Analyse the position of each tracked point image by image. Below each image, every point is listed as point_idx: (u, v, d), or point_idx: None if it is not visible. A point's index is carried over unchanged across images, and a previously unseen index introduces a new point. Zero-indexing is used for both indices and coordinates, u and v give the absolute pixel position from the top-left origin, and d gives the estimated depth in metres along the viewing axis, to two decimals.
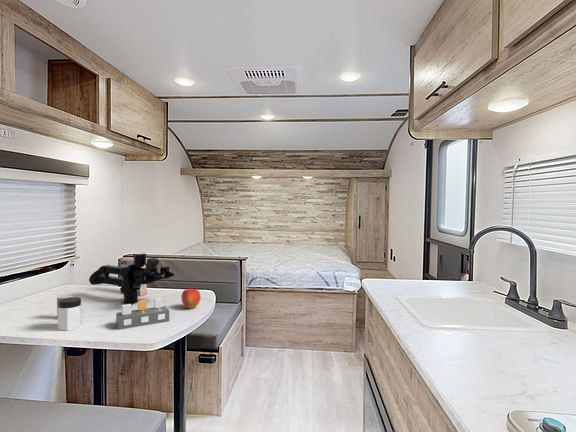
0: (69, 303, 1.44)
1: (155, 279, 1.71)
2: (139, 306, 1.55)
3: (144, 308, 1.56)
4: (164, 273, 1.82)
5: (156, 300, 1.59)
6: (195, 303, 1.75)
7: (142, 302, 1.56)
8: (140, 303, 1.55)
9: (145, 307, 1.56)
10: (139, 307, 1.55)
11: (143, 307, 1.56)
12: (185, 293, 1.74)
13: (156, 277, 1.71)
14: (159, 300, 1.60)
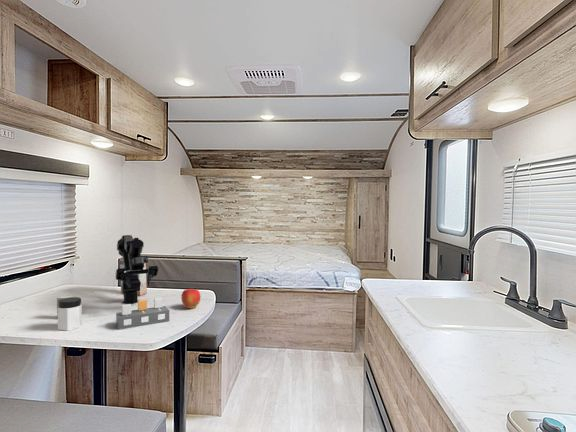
0: (69, 303, 1.44)
1: (127, 283, 1.63)
2: (139, 306, 1.55)
3: (144, 308, 1.56)
4: None
5: (156, 300, 1.59)
6: (195, 303, 1.75)
7: (142, 302, 1.56)
8: (140, 303, 1.55)
9: (145, 307, 1.56)
10: (139, 307, 1.55)
11: (143, 307, 1.56)
12: (185, 293, 1.74)
13: (127, 283, 1.62)
14: (159, 300, 1.60)
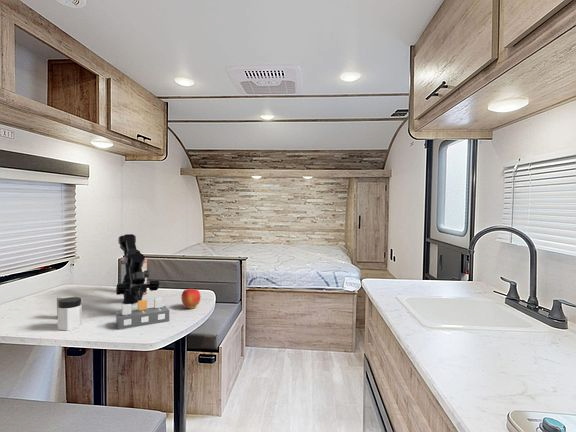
0: (69, 303, 1.44)
1: (136, 298, 1.62)
2: (139, 306, 1.55)
3: (144, 308, 1.56)
4: (140, 289, 1.65)
5: (156, 300, 1.59)
6: (195, 303, 1.75)
7: (142, 302, 1.56)
8: (140, 303, 1.55)
9: (145, 307, 1.56)
10: (139, 307, 1.55)
11: (143, 307, 1.56)
12: (185, 293, 1.74)
13: (137, 297, 1.61)
14: (159, 300, 1.60)
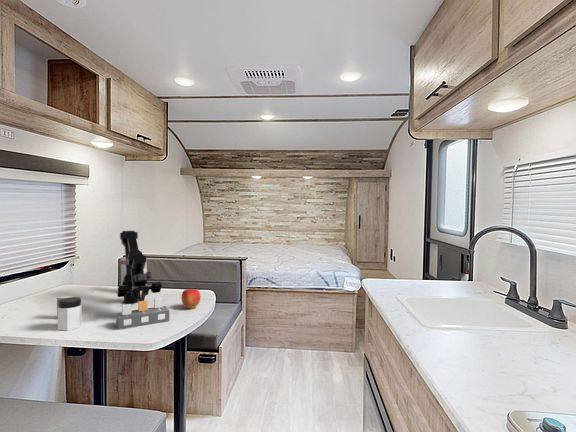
0: (69, 303, 1.44)
1: (138, 300, 1.58)
2: (139, 307, 1.54)
3: (145, 309, 1.55)
4: (142, 291, 1.61)
5: (156, 300, 1.59)
6: (195, 303, 1.75)
7: (142, 303, 1.55)
8: (140, 304, 1.54)
9: (146, 308, 1.55)
10: (139, 308, 1.54)
11: (143, 308, 1.55)
12: (185, 293, 1.74)
13: (139, 300, 1.57)
14: (159, 300, 1.60)
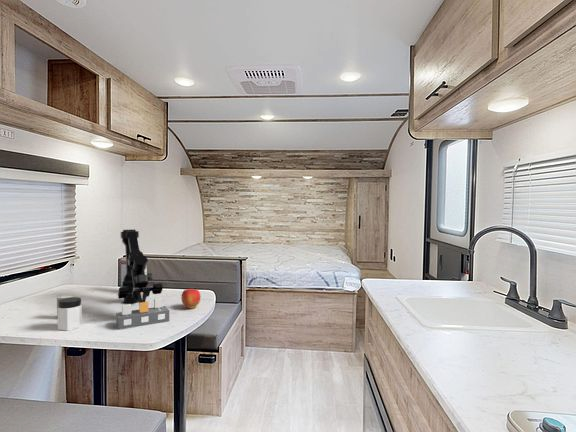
0: (69, 303, 1.44)
1: (139, 302, 1.56)
2: (140, 308, 1.52)
3: (146, 310, 1.53)
4: (143, 293, 1.59)
5: (156, 300, 1.59)
6: (195, 303, 1.75)
7: (144, 304, 1.53)
8: (142, 305, 1.52)
9: (147, 309, 1.53)
10: (140, 309, 1.52)
11: (145, 309, 1.53)
12: (185, 293, 1.74)
13: (140, 301, 1.55)
14: (159, 300, 1.60)
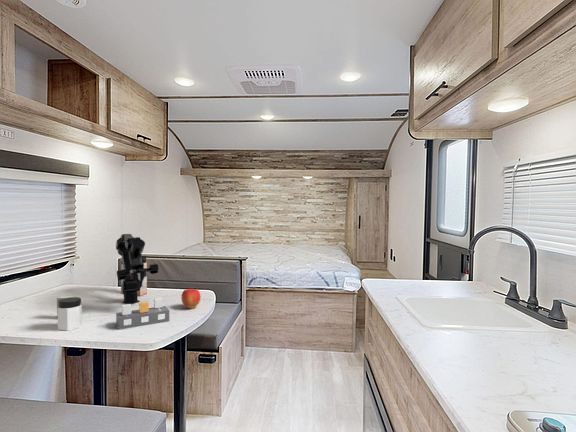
0: (69, 303, 1.44)
1: (137, 283, 1.67)
2: (141, 308, 1.52)
3: (146, 310, 1.53)
4: None
5: (156, 300, 1.59)
6: (195, 303, 1.75)
7: (144, 304, 1.52)
8: (142, 305, 1.52)
9: (147, 309, 1.53)
10: (141, 309, 1.52)
11: (145, 309, 1.53)
12: (185, 293, 1.74)
13: (137, 282, 1.66)
14: (159, 300, 1.60)
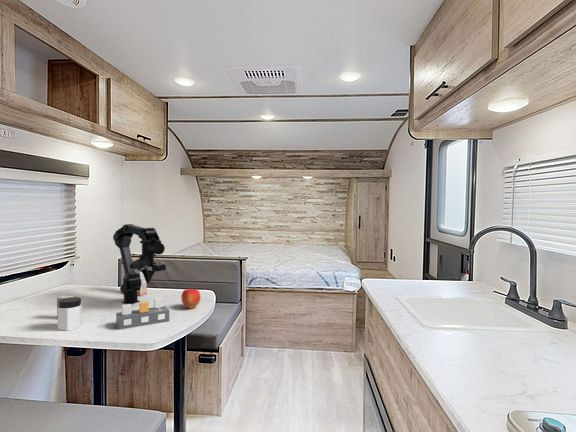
0: (69, 303, 1.44)
1: None
2: (141, 308, 1.52)
3: (146, 310, 1.53)
4: None
5: (156, 300, 1.59)
6: (195, 303, 1.75)
7: (144, 304, 1.52)
8: (142, 305, 1.52)
9: (147, 309, 1.53)
10: (141, 309, 1.52)
11: (145, 309, 1.53)
12: (185, 293, 1.74)
13: None
14: (159, 300, 1.60)
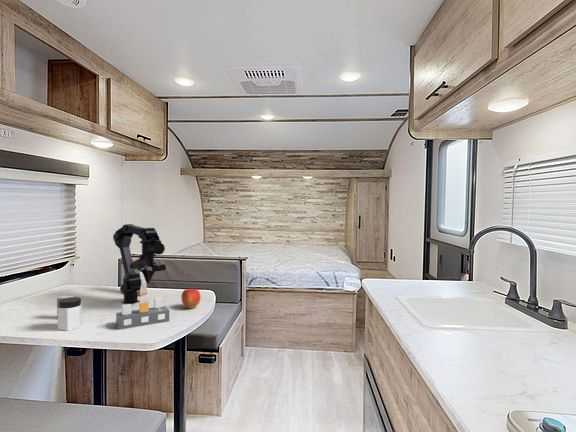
0: (69, 303, 1.44)
1: None
2: (141, 308, 1.52)
3: (146, 310, 1.53)
4: None
5: (156, 300, 1.59)
6: (195, 303, 1.75)
7: (144, 304, 1.52)
8: (142, 305, 1.52)
9: (147, 309, 1.53)
10: (141, 309, 1.52)
11: (145, 309, 1.53)
12: (185, 293, 1.74)
13: None
14: (159, 300, 1.60)
